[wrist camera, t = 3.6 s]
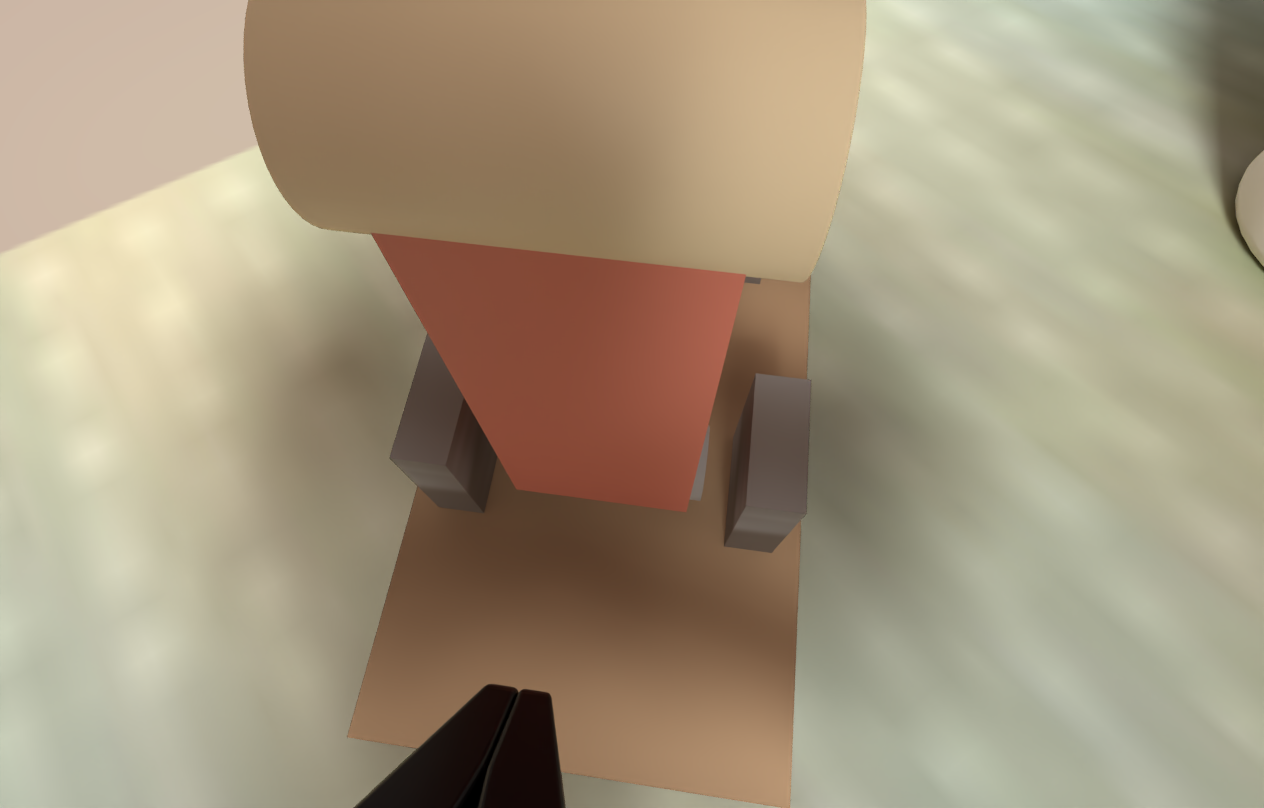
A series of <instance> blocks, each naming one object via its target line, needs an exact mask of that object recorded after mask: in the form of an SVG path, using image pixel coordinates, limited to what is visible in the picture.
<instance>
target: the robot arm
mask: <svg viewBox="0 0 1264 808" xmlns="http://www.w3.org/2000/svg"><path fill="white" fill-rule="evenodd" d="M354 808H566V807H565V799H564V791H563V783H562V775H561V767H560V759H559V752H558V744H557V736H556V728H555V720H554V712H553V704H552V698H551V695H550V694H549V693H547V692H542V691H536V690H530V689H522V690H520V692H518V690H517V689H516V688H515V687H510V686H504V685H497V684H488V685H486V686H484V687H483V688H482V689H481V690H480V691H479V692H478V693H476V694H475V695H474V696H473V697H472V698H471V699H470V700H469V701H468V702H467V703H466V704H465V705H464V706H462V707H461V708H460V709H459V710H458V711H457V712H456V713H455V714H454V715H453V716H452V717H451V718H450V719H449V720H447V721H446V722H445V723H444V724H443V725H442V726H441V727H440V728H439V729H438V730H437V731H436V732H435V733H433V734H432V735H431V736H430V737H429V738H428V739H427V740H426V741H425V742H424V743H423V744H422V745H421V746H419V747H418V748H417V749H416V750H415V751H414V752H413V753H412V754H411V755H410V756H409V757H408V758H407V759H405V760H404V761H403V762H402V763H401V764H400V765H399V766H398V767H397V768H396V769H395V770H394V771H393V772H392V773H390V774H389V775H388V776H387V777H386V778H385V779H384V780H383V781H382V782H381V783H380V784H379V785H378V786H376V787H375V788H374V789H373V790H372V791H371V792H370V793H369V794H368V795H367V796H366V797H365V798H364V799H362V800H361V801H360V802H359V803H358V804H357V805H356V806H355V807H354Z"/></svg>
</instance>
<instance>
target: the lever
mask: <svg viewBox="0 0 1264 808" xmlns="http://www.w3.org/2000/svg"><path fill="white" fill-rule="evenodd" d="M865 36H866V0H248V5H247V11H246V17H245V28H244V73H245V85H246V92H247V99H248V106H249V110H250V115H251V120H252V124H253V128H254V132H255V135H256V138H257V141H258V145H259V148H260V151H261V153H262V156H263V159H264V161H265V164H266V166H267V168H268V170H269V172H270V174H271V177H272V179H273V181H274V183H275V184H276V186H277V188H278V189H279V191H280V192H281V194H282V196H283V197H284V199H285V200H286V201H287V202H288V204H289V205H290V206H291V207H292V209H293V210H294V211H295V212H296V213H297V214H299V215H300V216H301V217H302V218H303V219H304V220H306V221H307V222H309V223H310V224H312V225H314V226H316V227H319V228H321V229H327V230H335V231H344V232H353V233H362V234H371V235H372V236H373V238H374V240H375V241H376V243H377V245H378V247H379V248H380V250H381V252H382V254H383V255H384V257H385V259H386V261H387V262H388V264H389V266H390V268H391V270H392V271H393V273H394V275H395V277H396V278H397V280H398V282H399V284H400V285H401V287H402V289H403V291H404V292H405V294H406V296H407V298H408V299H409V301H410V303H411V305H412V307H413V308H414V310H415V312H416V314H417V315H418V317H419V319H420V321H421V322H422V324H423V326H424V328H425V329H426V331H427V333H428V335H429V336H430V338H431V340H432V342H433V344H434V345H435V347H436V349H437V351H438V352H439V354H440V356H441V358H442V359H443V361H444V363H445V365H446V366H447V368H448V370H449V372H450V373H451V375H452V377H453V379H454V381H455V382H456V384H457V386H458V388H459V389H460V391H461V393H462V395H463V396H464V398H465V400H466V402H467V403H468V405H469V407H470V409H471V410H472V412H473V414H474V416H475V418H476V419H477V421H478V423H479V425H480V426H481V428H482V430H483V432H484V433H485V435H486V437H487V439H488V440H489V442H490V444H491V446H492V447H493V449H494V451H495V453H496V455H497V456H498V458H499V460H500V462H501V463H502V465H503V467H504V469H505V470H506V473H507V474H508V476H509V477H510V479H511V481H512V483H513V485H514V486H515V488H516V489H517V490H525V491H532V492H539V493H547V494H554V495H561V496H569V497H576V498H584V499H591V500H598V501H606V502H613V503H621V504H628V505H635V506H643V507H650V508H658V509H665V510H672V511H680V512H686V511H687V507H688V504H689V500H696V501H700V500H701V496H702V491H703V486H704V479H705V472H706V464H707V455H708V446H709V432H710V427H709V425H708V424H709V420H710V416H711V412H712V408H713V404H714V400H715V396H716V392H717V388H718V385H719V381H720V377H721V373H722V369H723V365H724V361H725V357H726V353H727V349H728V345H729V341H730V337H731V333H732V329H733V325H734V321H735V317H736V313H737V309H738V305H739V301H740V297H741V293H742V289H743V285H744V281H745V277H755V278H764V279H773V280H782V281H791V282H800V283H801V282H804V281H806V280H807V279H808V277H809V276H810V275H811V273H812V271H813V269H814V267H815V265H816V263H817V261H818V259H819V256H820V254H821V251H822V248H823V246H824V243H825V240H826V237H827V234H828V231H829V228H830V225H831V221H832V218H833V214H834V211H835V208H836V204H837V200H838V196H839V192H840V188H841V184H842V180H843V176H844V171H845V167H846V163H847V158H848V153H849V148H850V143H851V138H852V133H853V128H854V122H855V117H856V110H857V104H858V98H859V91H860V84H861V77H862V69H863V59H864V50H865Z"/></svg>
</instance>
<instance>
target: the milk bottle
mask: <svg viewBox="0 0 1264 808" xmlns="http://www.w3.org/2000/svg"><path fill="white" fill-rule="evenodd" d="M1235 206H1236V218H1237V221H1238V224H1239V227H1240V231H1241V234H1242V236H1243V238H1244V239H1245V241H1246V243H1247V245H1248V247H1249V248H1250V250H1251V252H1252V253H1253V254H1254V256H1255V257H1256V258H1257V259H1258V260H1259V262H1260V263H1261V264H1262V265H1263V267H1264V150H1263V151H1262V152H1261V153H1260V154H1259V155H1258V156H1257V157H1256V158H1255V159H1254V160H1253V161H1252V162H1251V163H1250V165H1249V166H1248V167H1247V169H1246V171H1245V173H1244V175H1243V177H1242V179H1241V182H1240V184H1239V186H1238V191H1237V195H1236V199H1235Z"/></svg>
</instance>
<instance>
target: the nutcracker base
mask: <svg viewBox="0 0 1264 808" xmlns="http://www.w3.org/2000/svg"><path fill="white" fill-rule="evenodd" d="M810 279H811V275H810V276H809V277H808V279H807V280H806V281H804V282H801V283H800V282H791V281H782V280H773V279H764V278H755V277H745V281H744V285H743V289H742V293H741V297H740V301H739V305H738V309H737V313H736V317H735V321H734V325H733V329H732V333H731V337H730V341H729V345H728V349H727V353H726V357H725V361H724V365H723V369H722V373H721V377H720V381H719V385H718V388H717V392H716V396H715V400H714V404H713V408H712V412H711V416H710V420H709V424H708V425H709V427H710V432H709V446H708V455H707V464H706V472H705V479H704V486H703V491H702V496H701V500H700V501H696V500H689V504H688V507H687V511H686V512H680V511H672V510H665V509H658V508H650V507H643V506H635V505H628V504H621V503H613V502H606V501H598V500H591V499H584V498H576V497H569V496H561V495H554V494H547V493H539V492H532V491H525V490H517V489H516V488H515V486H514V485H513V483H512V481H511V479H510V477H509V476H508V474H507V473H506V470H505V469H504V467H503V465H502V463H501V462H500V460H499V458H498V456H497V455H496V453H495V451H494V449H493V447H492V446H491V444H490V442H489V440H488V439H487V437H486V435H485V433H484V432H483V430H482V428H481V426H480V425H479V423H478V421H477V419H476V418H475V416H474V414H473V412H472V410H471V409H470V407H469V405H468V403H467V402H466V400H465V398H464V396H463V395H462V393H461V391H460V389H459V388H458V386H457V384H456V382H455V381H454V379H453V377H452V375H451V373H450V372H449V370H448V368H447V366H446V365H445V363H444V361H443V359H442V358H441V356H440V354H439V352H438V351H437V349H436V347H435V345H434V344H433V342H432V340H431V338H430V336H429V335H428V334H427V336H426V340H425V343H424V346H423V349H422V353H421V356H420V359H419V362H418V366H417V369H416V372H415V376H414V379H413V382H412V385H411V389H410V392H409V395H408V399H407V402H406V405H405V408H404V412H403V415H402V418H401V422H400V425H399V428H398V431H397V435H396V438H395V441H394V445H393V448H392V451H391V454H390V459H391V460H392V461H393V462H394V463H395V464H396V465H397V466H398V467H399V468H400V469H401V470H402V471H403V472H404V473H405V474H406V475H407V476H408V477H409V478H410V479H411V480H412V481H413V482H414V483H415V484H416V485H417V486H418V487H417V490H416V494H415V497H414V501H413V505H412V508H411V512H410V515H409V519H408V522H407V526H406V529H405V533H404V537H403V540H402V544H401V547H400V551H399V554H398V558H397V561H396V565H395V569H394V572H393V576H392V579H391V583H390V586H389V590H388V593H387V597H386V600H385V604H384V608H383V611H382V615H381V618H380V622H379V625H378V629H377V632H376V636H375V640H374V643H373V647H372V650H371V654H370V657H369V661H368V664H367V668H366V672H365V675H364V679H363V682H362V686H361V689H360V693H359V696H358V700H357V704H356V707H355V711H354V714H353V718H352V721H351V725H350V728H349V732H348V736H347V737H349V738H356V739H362V740H368V741H374V742H380V743H386V744H393V745H399V746H405V747H411V748H418V747H419V746H421V745H422V744H423V743H424V742H425V741H426V740H427V739H428V738H429V737H430V736H431V735H432V734H433V733H435V732H436V731H437V730H438V729H439V728H440V727H441V726H442V725H443V724H444V723H445V722H446V721H447V720H449V719H450V718H451V717H452V716H453V715H454V714H455V713H456V712H457V711H458V710H459V709H460V708H461V707H462V706H464V705H465V704H466V703H467V702H468V701H469V700H470V699H471V698H472V697H473V696H474V695H475V694H476V693H478V692H479V691H480V690H481V689H482V688H483V687H484V686H486V685H488V684H497V685H504V686H510V687H515V688H516V689H517V690H518V692H520V690H522V689H530V690H536V691H542V692H547V693H549V694H550V695H551V698H552V704H553V712H554V720H555V728H556V736H557V744H558V752H559V759H560V767H561V772H565V773H571V774H578V775H584V776H590V777H596V778H602V779H608V780H615V781H621V782H627V783H633V784H639V785H645V786H652V787H658V788H664V789H670V790H676V791H682V792H689V793H695V794H701V795H707V796H713V797H720V798H726V799H732V800H738V801H744V802H750V803H757V804H763V805H769V806H775V807H781V808H790V793H791V768H792V742H793V716H794V690H795V665H796V639H797V613H798V588H799V562H800V536H801V519H802V518H803V517H804V516H805V515H806V509H807V481H808V453H809V425H810V397H811V380H807V357H808V331H809V305H810Z"/></svg>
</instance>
